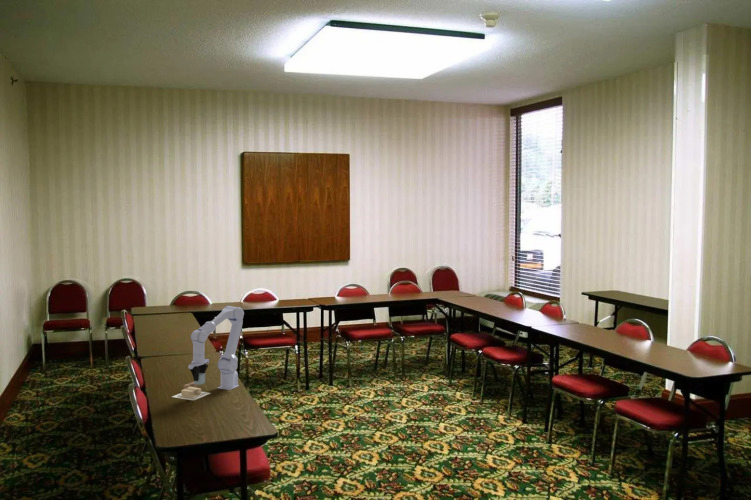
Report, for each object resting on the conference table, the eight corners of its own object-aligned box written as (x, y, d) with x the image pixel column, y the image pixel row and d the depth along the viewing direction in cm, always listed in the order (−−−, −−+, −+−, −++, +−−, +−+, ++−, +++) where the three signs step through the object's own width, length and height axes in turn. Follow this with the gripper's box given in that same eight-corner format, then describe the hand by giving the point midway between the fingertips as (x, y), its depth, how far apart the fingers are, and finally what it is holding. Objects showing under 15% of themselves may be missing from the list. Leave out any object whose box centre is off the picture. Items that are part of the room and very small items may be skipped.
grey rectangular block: (198, 382, 331) (198, 372, 331) (205, 383, 329) (205, 373, 329) (193, 383, 327) (193, 374, 327) (200, 384, 326) (200, 375, 325)
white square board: (189, 390, 339) (189, 389, 339) (211, 393, 333) (211, 392, 333) (171, 397, 326) (171, 396, 326) (193, 400, 320) (193, 400, 320)
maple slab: (190, 392, 334) (190, 386, 334) (201, 394, 331) (201, 388, 331) (181, 395, 328) (181, 390, 327) (192, 397, 325) (192, 391, 325)
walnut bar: (192, 387, 344) (193, 382, 344) (197, 388, 343) (197, 382, 343) (183, 390, 336) (183, 384, 336) (187, 391, 335) (188, 385, 335)
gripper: (201, 350, 336) (201, 375, 337) (183, 355, 322) (183, 382, 323) (212, 351, 333) (212, 377, 334) (194, 357, 320) (194, 383, 321)
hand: (198, 379), depth 328 cm, fingers closed on grey rectangular block, 4 cm apart
